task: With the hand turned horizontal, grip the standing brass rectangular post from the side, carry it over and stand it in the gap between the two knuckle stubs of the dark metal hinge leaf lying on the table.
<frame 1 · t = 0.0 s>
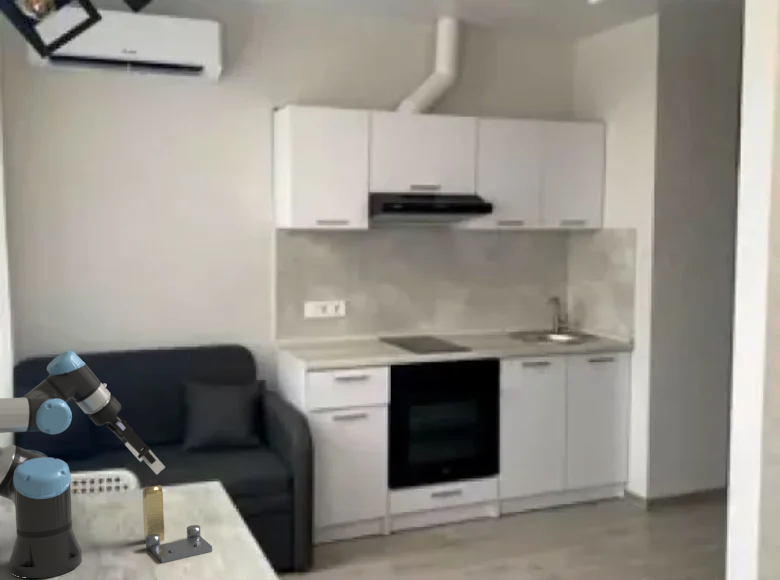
hand: (152, 464, 218), 15 cm above the table, tool tilted 35°, fingers open, 13 cm apart
brass rectangular post: (154, 539, 207), on the table
fixed leaf: (181, 551, 199), on the table
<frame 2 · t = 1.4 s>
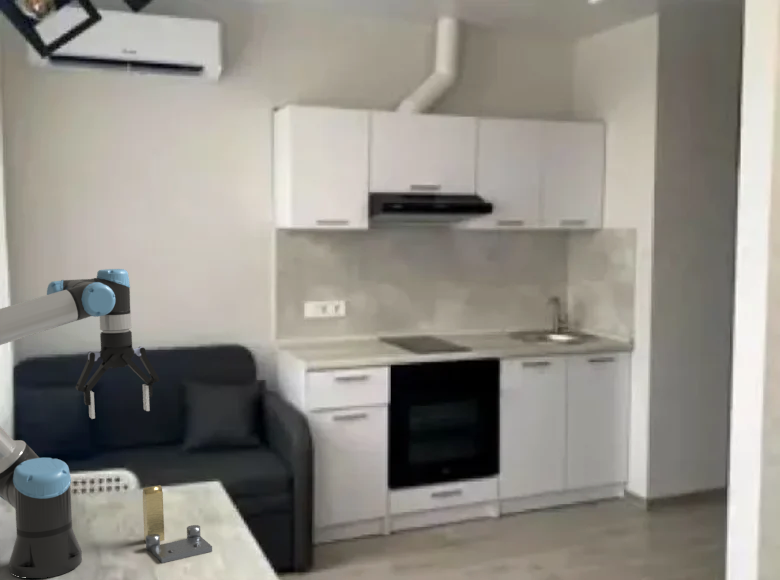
hand: (119, 413, 215), 29 cm above the table, tool pointing down, fingers open, 13 cm apart
nothing on the table moved.
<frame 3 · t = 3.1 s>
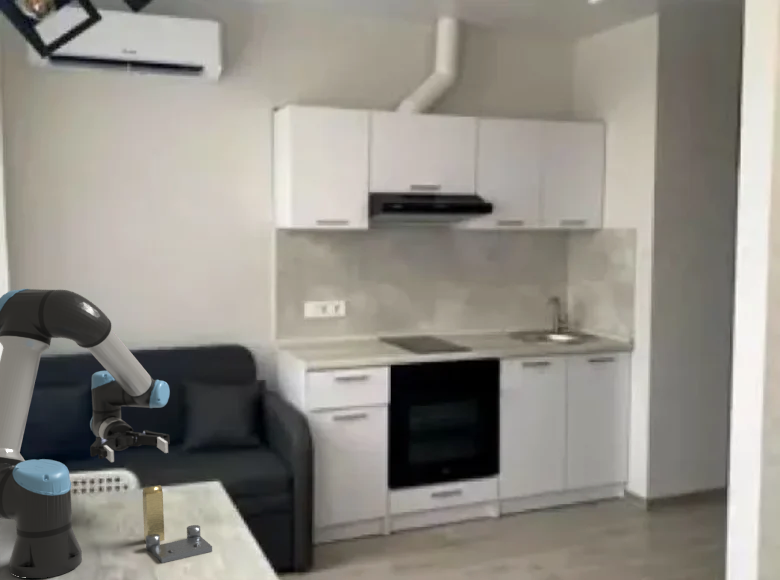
hand: (139, 452, 213), 19 cm above the table, tool horizontal, fingers open, 13 cm apart
nothing on the table moved.
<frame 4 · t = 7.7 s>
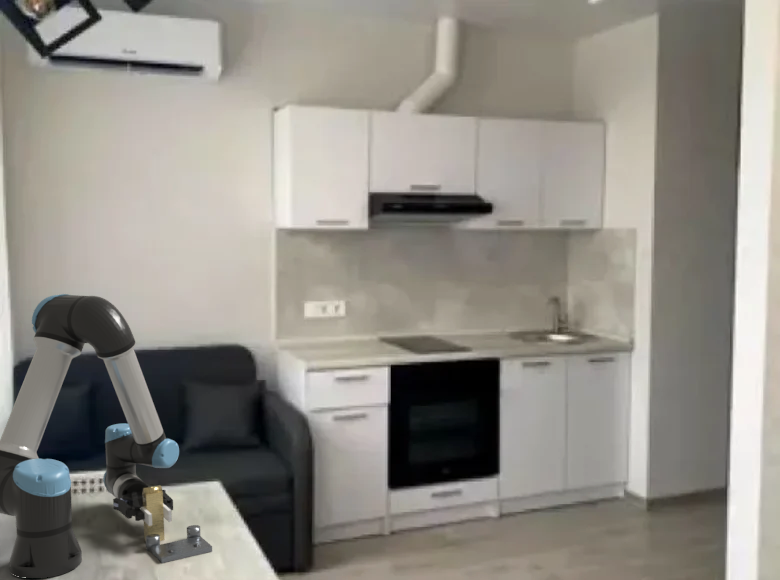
hand: (160, 518, 201), 7 cm above the table, tool horizontal, fingers closed on brass rectangular post, 4 cm apart
brass rectangular post: (154, 539, 207), on the table, touching gripper
when the fingers open (8 cm above the table, at t = 12.2 s): brass rectangular post stays where it is, on the table.
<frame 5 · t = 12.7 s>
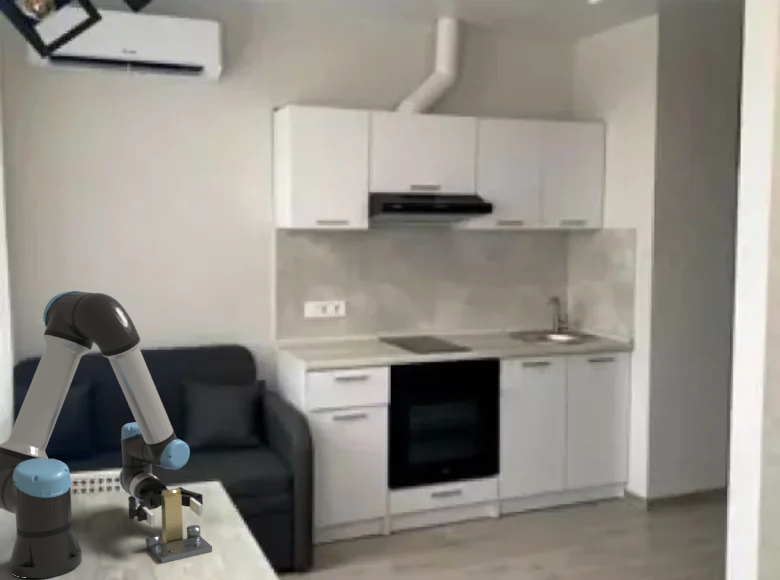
hand: (177, 515, 200), 8 cm above the table, tool horizontal, fingers open, 11 cm apart
brass rectangular post: (172, 543, 204), on the table
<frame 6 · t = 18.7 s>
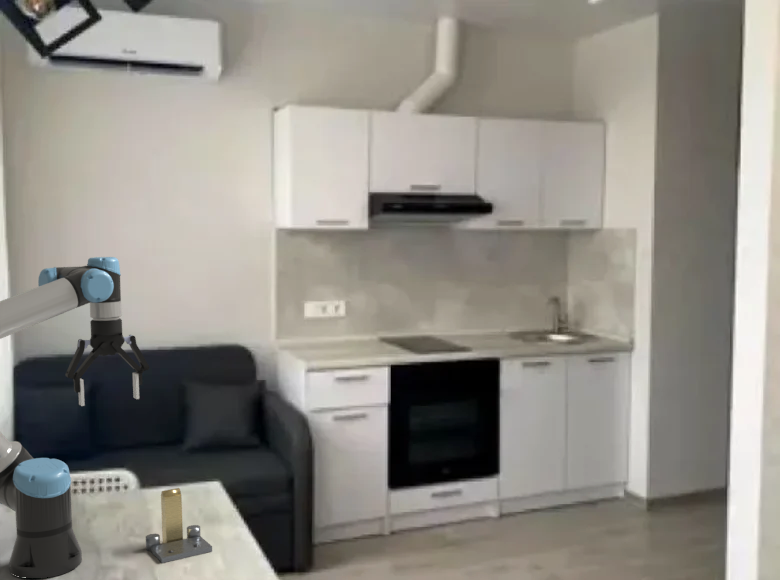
hand: (109, 401, 215), 32 cm above the table, tool pointing down, fingers open, 13 cm apart
nothing on the table moved.
at the end: brass rectangular post 0.0 cm from the target spot, on the table; brass rectangular post tilted 0°; the gripper is holding nothing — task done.
